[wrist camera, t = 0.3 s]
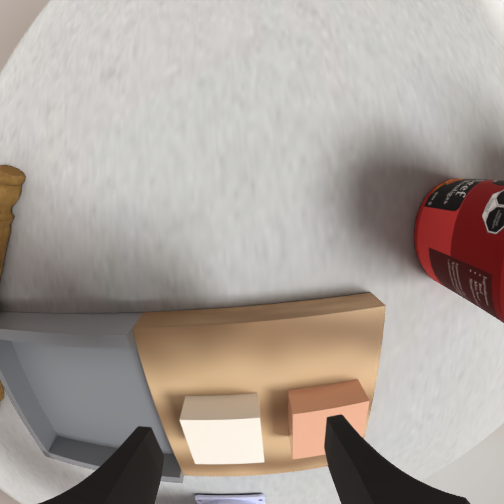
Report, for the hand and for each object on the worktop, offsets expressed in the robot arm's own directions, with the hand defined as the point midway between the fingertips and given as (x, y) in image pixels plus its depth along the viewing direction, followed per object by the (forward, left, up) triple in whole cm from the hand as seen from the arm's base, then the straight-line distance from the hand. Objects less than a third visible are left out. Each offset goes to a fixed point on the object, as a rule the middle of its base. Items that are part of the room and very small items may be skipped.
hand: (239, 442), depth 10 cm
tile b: (-6, +2, -8) cm, 10 cm away
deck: (-6, -1, -10) cm, 12 cm away
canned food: (+6, -16, -10) cm, 20 cm away
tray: (-6, +15, -10) cm, 19 cm away
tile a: (-6, -5, -8) cm, 11 cm away
